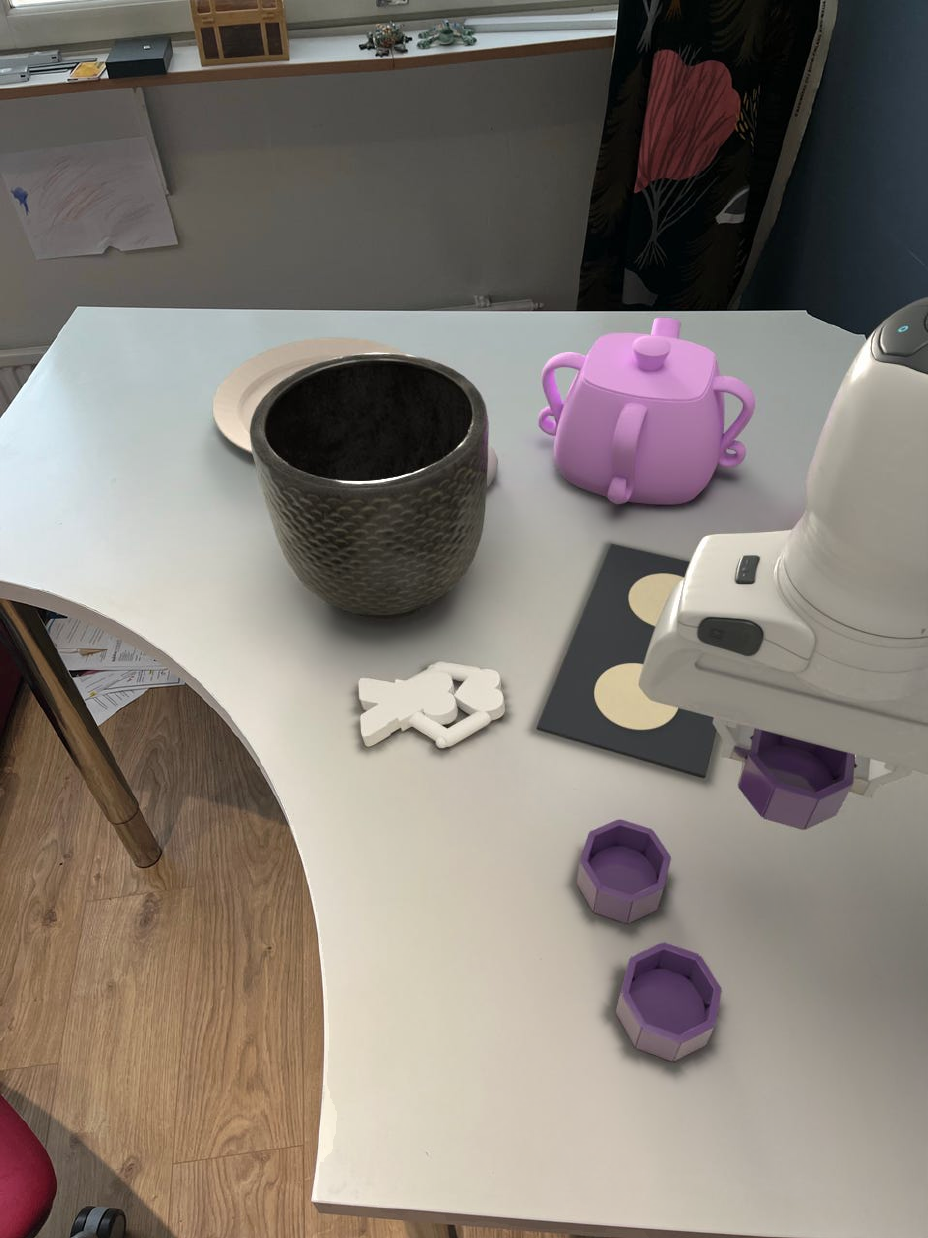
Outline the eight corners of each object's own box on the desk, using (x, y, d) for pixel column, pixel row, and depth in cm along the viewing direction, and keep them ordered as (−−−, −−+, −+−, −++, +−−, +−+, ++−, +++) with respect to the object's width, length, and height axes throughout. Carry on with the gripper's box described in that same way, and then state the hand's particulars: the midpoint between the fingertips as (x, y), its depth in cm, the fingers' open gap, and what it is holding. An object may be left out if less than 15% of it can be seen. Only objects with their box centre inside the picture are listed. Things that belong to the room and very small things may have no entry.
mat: (752, 578, 89) (753, 575, 88) (704, 778, 74) (705, 775, 73) (610, 545, 92) (611, 542, 92) (536, 729, 77) (536, 726, 77)
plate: (409, 484, 100) (407, 469, 98) (184, 465, 103) (179, 451, 101) (448, 357, 117) (448, 343, 115) (254, 345, 120) (251, 331, 118)
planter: (471, 503, 97) (468, 340, 83) (506, 641, 84) (509, 474, 70) (283, 526, 95) (248, 363, 82) (288, 670, 82) (247, 505, 68)
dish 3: (843, 760, 59) (859, 728, 56) (834, 839, 55) (850, 809, 52) (747, 734, 60) (758, 702, 58) (732, 810, 56) (743, 779, 54)
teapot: (595, 535, 93) (608, 416, 83) (515, 423, 107) (517, 308, 96) (758, 489, 98) (790, 370, 87) (661, 387, 111) (679, 273, 101)
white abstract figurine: (511, 738, 76) (508, 723, 74) (367, 764, 76) (362, 749, 74) (495, 657, 82) (493, 642, 80) (362, 681, 82) (357, 666, 80)
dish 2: (717, 984, 62) (727, 963, 60) (700, 1072, 59) (709, 1054, 56) (630, 953, 64) (636, 932, 62) (608, 1038, 60) (613, 1019, 58)
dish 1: (670, 859, 69) (676, 836, 66) (651, 932, 65) (658, 910, 63) (592, 834, 70) (595, 811, 68) (569, 904, 67) (572, 882, 64)
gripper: (1086, 618, 46) (978, 775, 56) (673, 529, 51) (643, 687, 61) (1097, 715, 42) (979, 865, 52) (648, 607, 47) (620, 762, 57)
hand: (795, 768), depth 56 cm, fingers closed on dish 3, 6 cm apart
